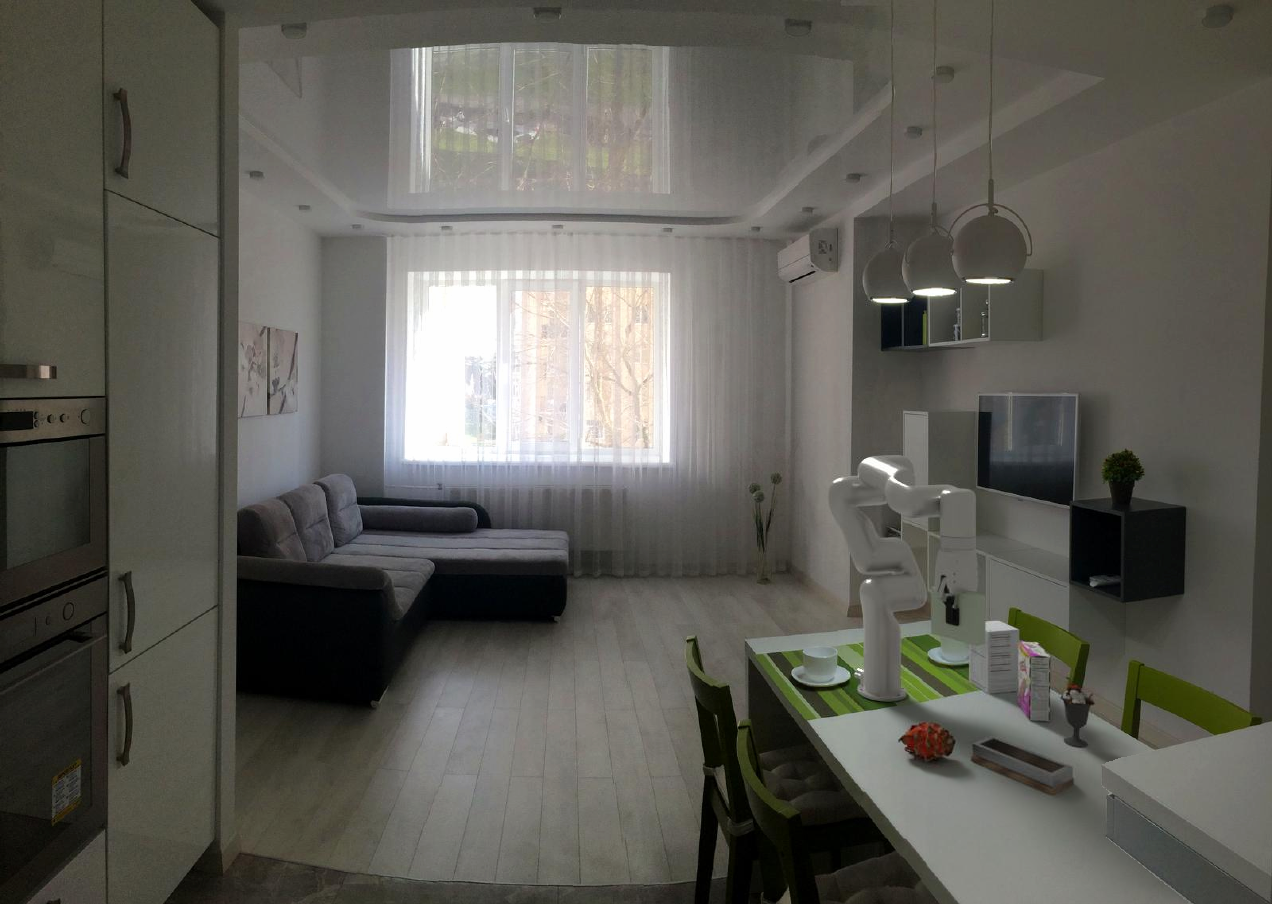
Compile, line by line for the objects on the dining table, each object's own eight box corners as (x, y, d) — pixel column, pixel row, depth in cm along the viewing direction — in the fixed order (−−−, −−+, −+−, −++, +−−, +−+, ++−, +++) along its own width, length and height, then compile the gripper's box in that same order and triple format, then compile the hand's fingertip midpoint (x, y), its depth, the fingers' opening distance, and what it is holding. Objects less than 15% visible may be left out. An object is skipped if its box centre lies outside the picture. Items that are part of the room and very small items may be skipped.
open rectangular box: (970, 760, 174) (971, 744, 174) (993, 751, 179) (993, 735, 178) (1051, 794, 159) (1052, 776, 159) (1073, 783, 163) (1074, 766, 163)
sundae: (1052, 737, 185) (1054, 673, 184) (1080, 735, 186) (1082, 672, 184) (1070, 750, 178) (1072, 684, 177) (1099, 748, 179) (1101, 682, 178)
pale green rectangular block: (931, 633, 187) (931, 587, 187) (939, 631, 189) (939, 585, 188) (977, 646, 177) (977, 597, 176) (985, 643, 179) (985, 594, 178)
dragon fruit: (960, 769, 174) (902, 771, 177) (954, 734, 180) (898, 736, 184) (958, 748, 169) (898, 750, 172) (951, 712, 175) (894, 715, 178)
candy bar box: (1016, 703, 205) (1017, 640, 204) (1037, 704, 204) (1038, 641, 203) (1028, 721, 194) (1029, 655, 193) (1050, 722, 193) (1052, 656, 192)
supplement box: (1020, 692, 213) (1021, 629, 211) (988, 694, 211) (988, 631, 210) (998, 679, 222) (999, 619, 221) (967, 681, 221) (968, 621, 219)
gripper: (965, 537, 189) (965, 614, 190) (920, 545, 180) (920, 625, 182) (994, 541, 183) (994, 620, 184) (949, 549, 174) (949, 633, 175)
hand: (957, 622), depth 183 cm, fingers closed on pale green rectangular block, 3 cm apart
